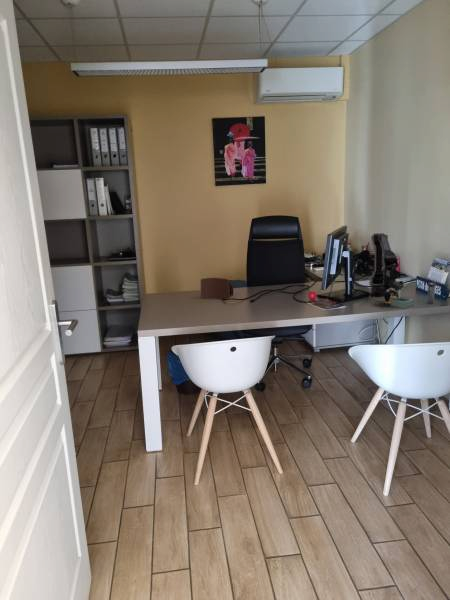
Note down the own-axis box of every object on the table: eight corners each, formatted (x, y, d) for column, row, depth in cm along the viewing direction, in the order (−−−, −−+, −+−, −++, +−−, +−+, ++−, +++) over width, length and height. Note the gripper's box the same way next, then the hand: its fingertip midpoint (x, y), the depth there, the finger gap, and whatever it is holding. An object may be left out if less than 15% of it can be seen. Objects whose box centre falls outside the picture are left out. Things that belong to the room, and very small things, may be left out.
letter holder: (229, 299, 301) (229, 278, 297) (200, 298, 306) (199, 277, 303) (233, 296, 310) (233, 275, 307) (205, 295, 316) (204, 274, 312)
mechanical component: (408, 298, 288) (409, 282, 285) (391, 298, 290) (392, 282, 287) (407, 297, 290) (408, 281, 288) (390, 297, 292) (391, 281, 290)
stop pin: (424, 303, 276) (426, 283, 273) (428, 301, 278) (430, 282, 276) (431, 304, 273) (433, 284, 270) (435, 303, 275) (436, 283, 272)
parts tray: (390, 305, 273) (391, 299, 272) (399, 303, 278) (399, 296, 277) (404, 308, 266) (405, 302, 265) (413, 305, 271) (413, 299, 270)
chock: (385, 302, 280) (385, 296, 279) (389, 301, 282) (389, 295, 281) (392, 304, 276) (392, 297, 275) (396, 303, 278) (396, 296, 277)
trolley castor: (389, 301, 283) (389, 286, 280) (394, 299, 286) (395, 284, 284) (396, 302, 279) (397, 287, 276) (402, 301, 282) (403, 285, 280)
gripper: (391, 280, 261) (390, 307, 265) (409, 275, 272) (408, 301, 276) (374, 277, 270) (373, 303, 274) (393, 273, 281) (391, 298, 285)
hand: (387, 301), depth 277 cm, fingers closed
